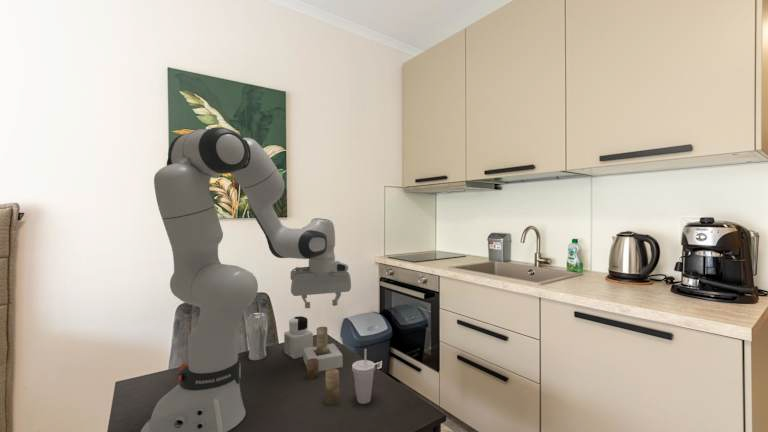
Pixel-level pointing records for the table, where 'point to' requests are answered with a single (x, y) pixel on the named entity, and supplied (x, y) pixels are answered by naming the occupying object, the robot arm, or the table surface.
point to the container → (297, 337)
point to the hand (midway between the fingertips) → (321, 306)
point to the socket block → (324, 357)
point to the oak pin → (332, 386)
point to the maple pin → (322, 341)
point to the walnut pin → (312, 369)
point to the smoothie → (363, 379)
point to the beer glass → (257, 335)
